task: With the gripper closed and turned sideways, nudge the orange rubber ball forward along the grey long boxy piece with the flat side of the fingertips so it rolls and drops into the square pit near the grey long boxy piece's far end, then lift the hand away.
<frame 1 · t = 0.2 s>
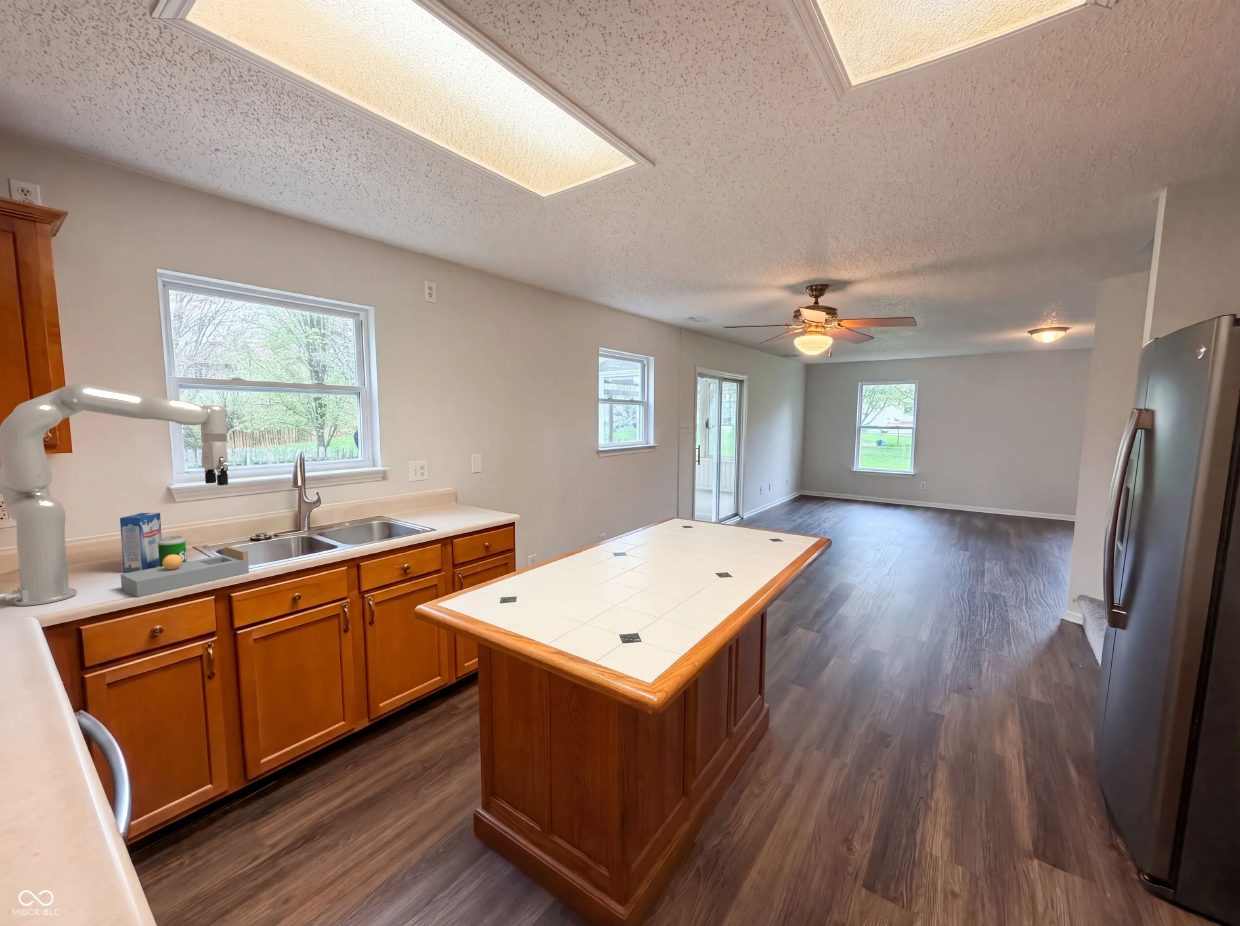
hand: (216, 484, 188), 31 cm above the worktop, fingers open, 9 cm apart
soda can: (173, 570, 182), on the worktop
milk carton: (144, 569, 183), on the worktop
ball: (172, 561, 167), point 7 cm above the worktop, touching grey long boxy piece
grey long boxy piece: (188, 580, 171), on the worktop
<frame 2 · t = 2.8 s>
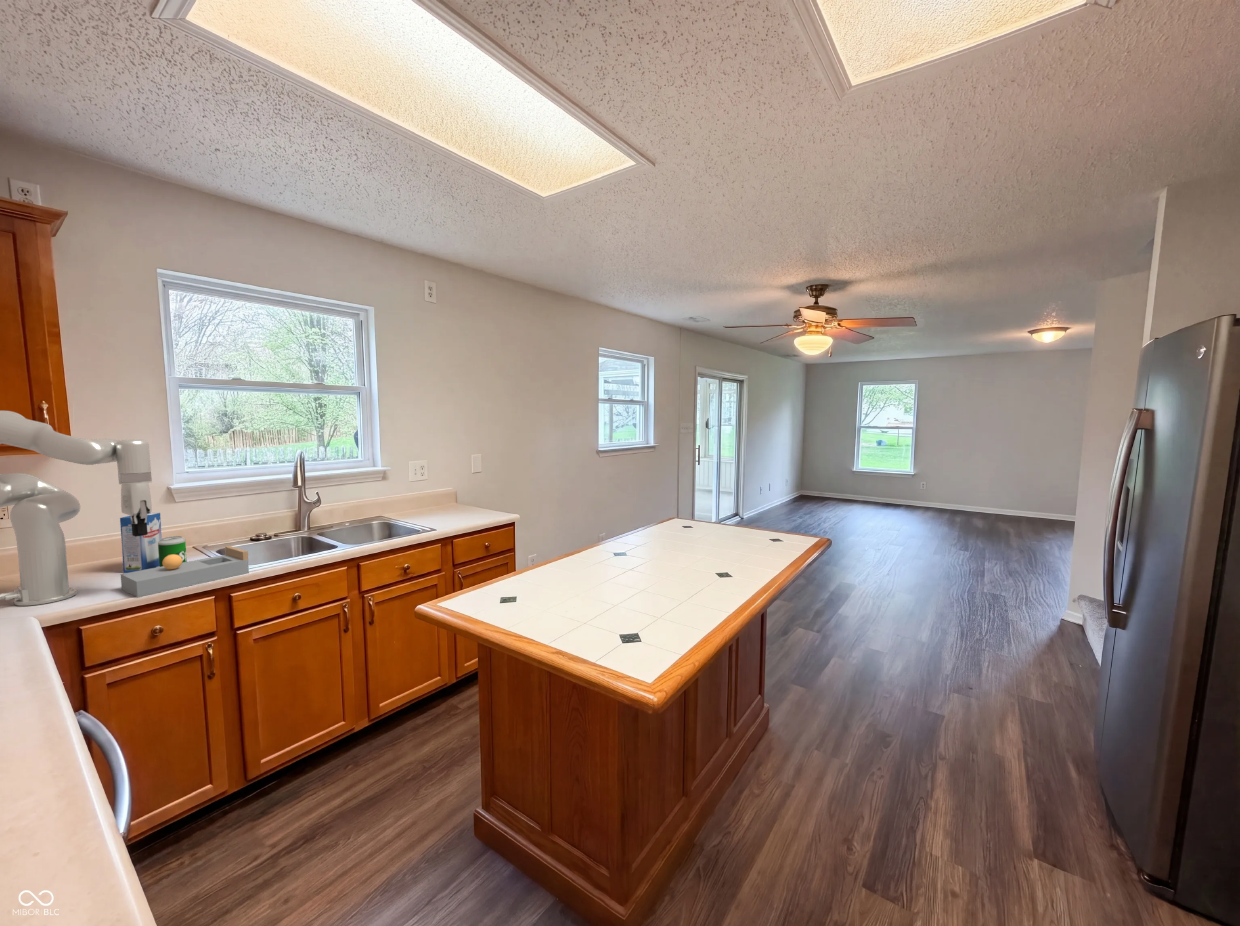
hand: (140, 535, 159), 18 cm above the worktop, fingers closed
nothing on the worktop moved.
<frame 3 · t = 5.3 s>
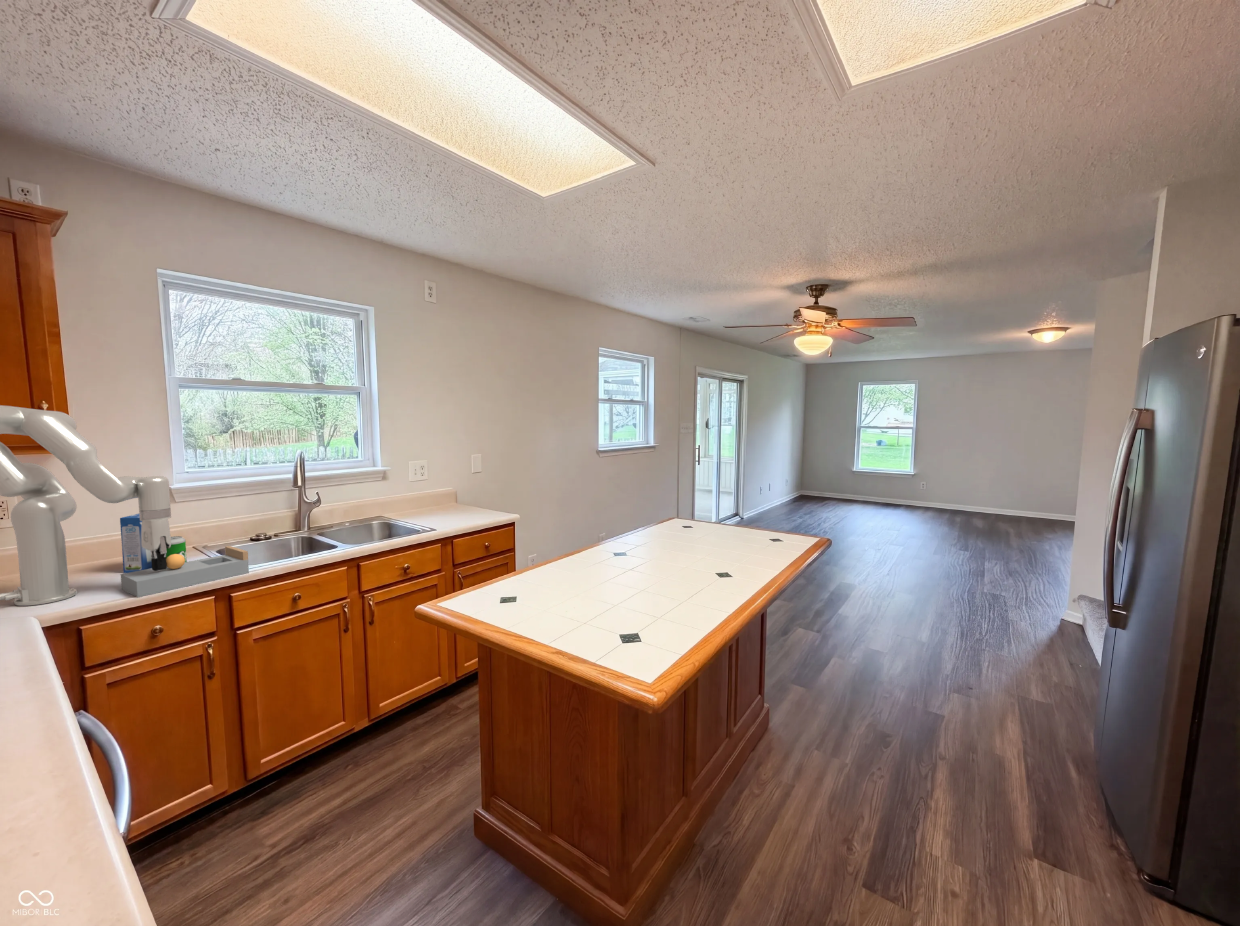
hand: (159, 569, 164), 6 cm above the worktop, fingers closed
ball: (175, 561, 167), point 7 cm above the worktop, tilted 13°, touching grey long boxy piece
everything else where it was.
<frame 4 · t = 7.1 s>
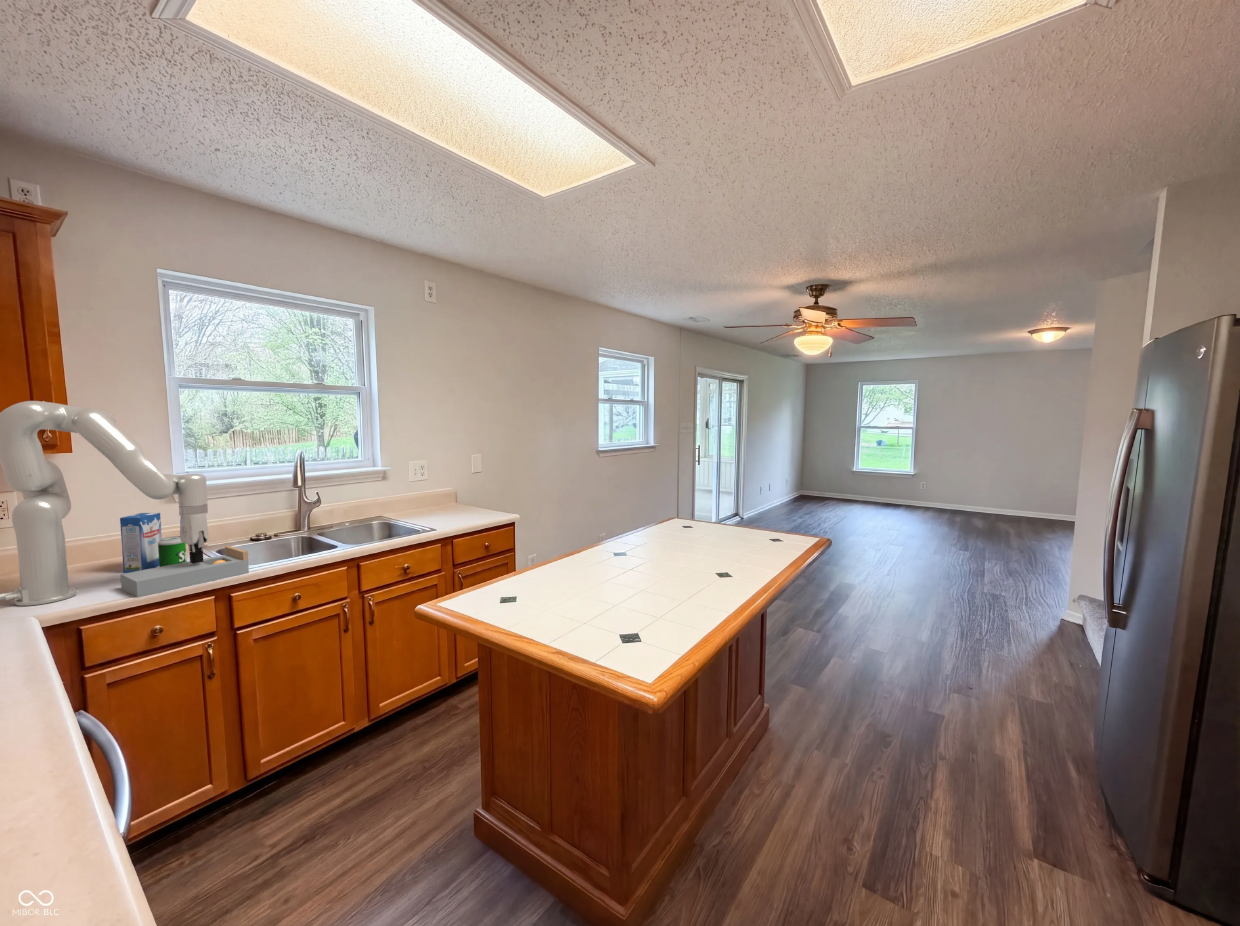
hand: (196, 562, 172), 6 cm above the worktop, fingers closed
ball: (219, 567, 178), point 2 cm above the worktop, tilted 17°
everything else where it was.
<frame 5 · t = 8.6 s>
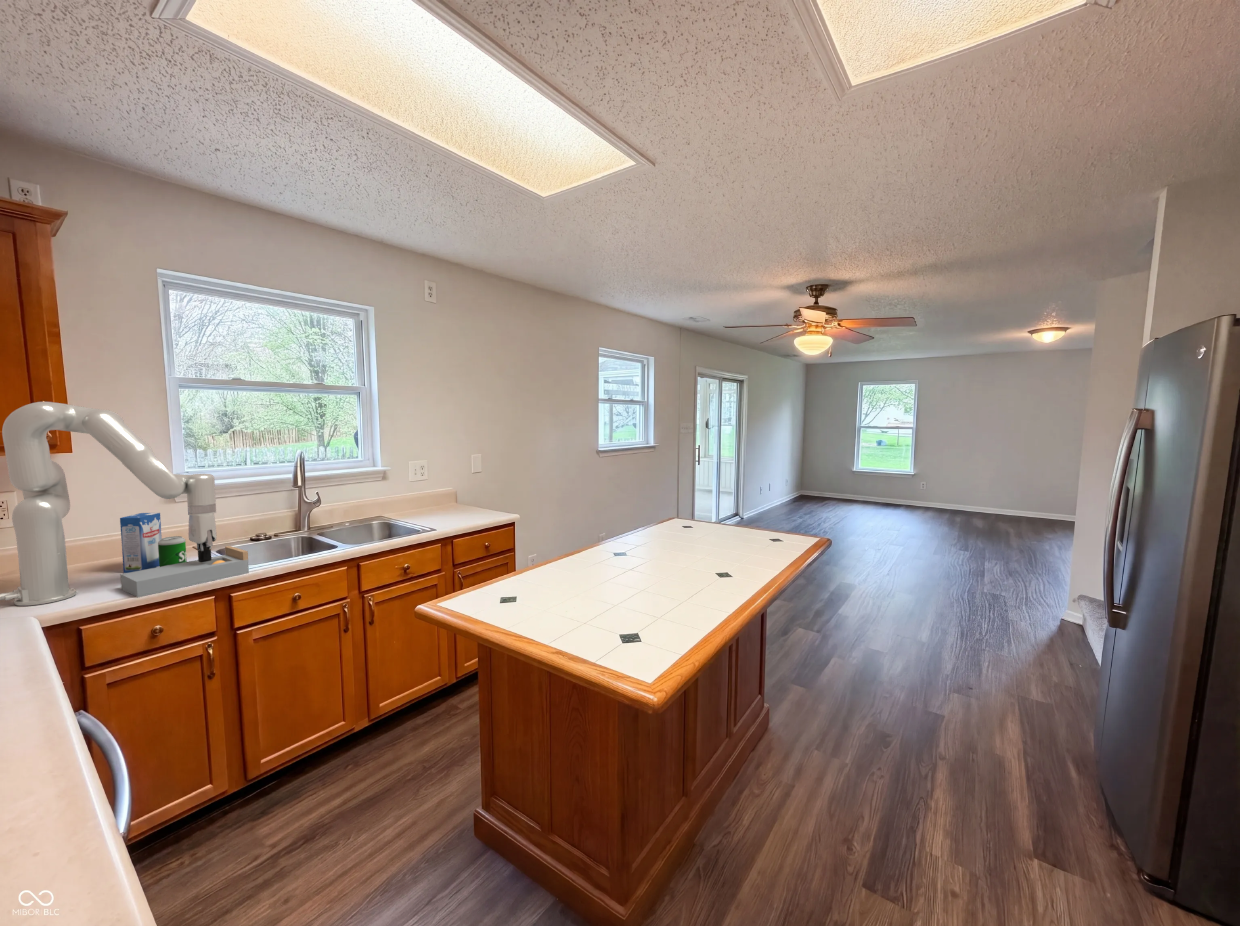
hand: (204, 561, 174), 6 cm above the worktop, fingers closed
nothing on the worktop moved.
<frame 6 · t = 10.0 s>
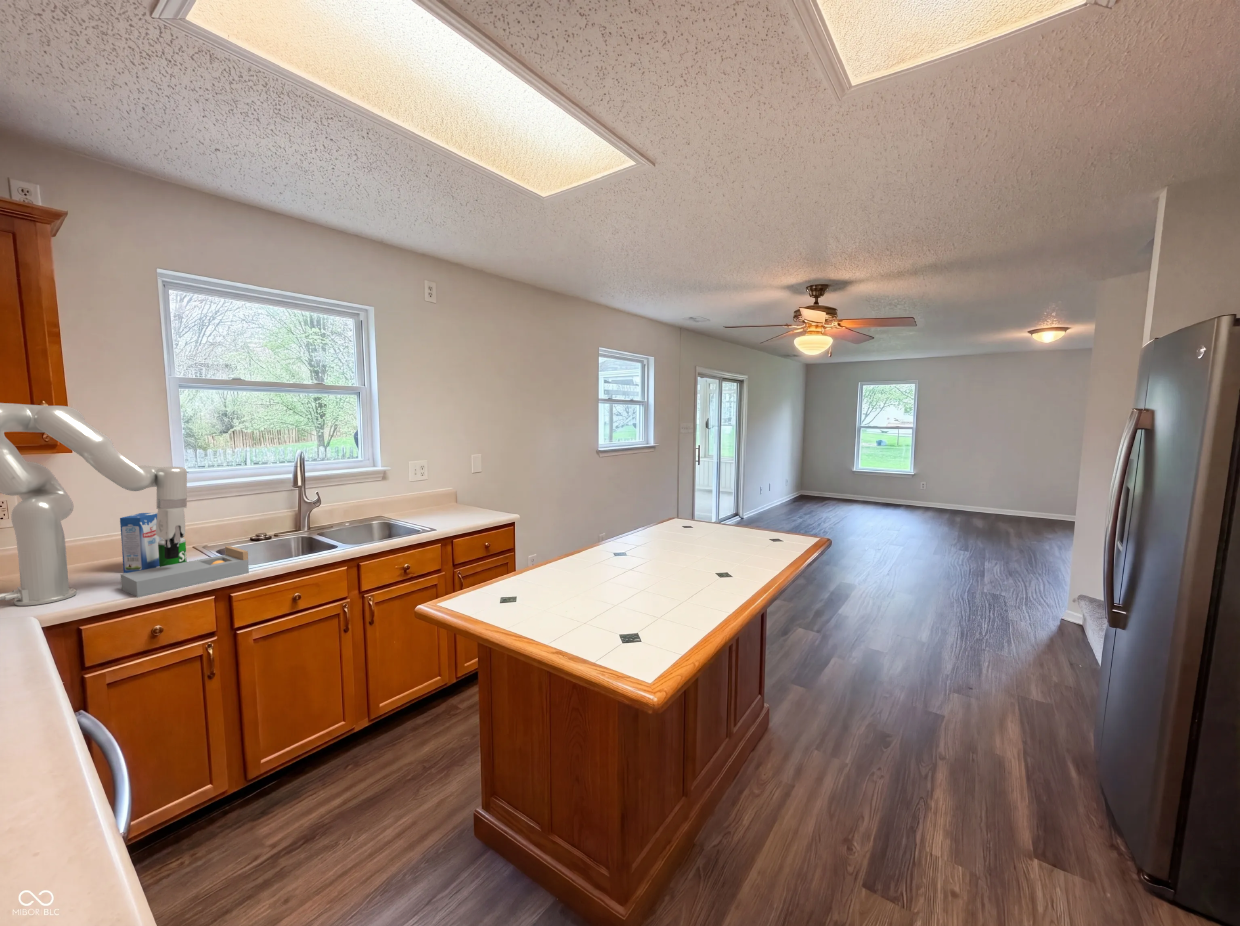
hand: (171, 558, 167), 9 cm above the worktop, fingers closed
nothing on the worktop moved.
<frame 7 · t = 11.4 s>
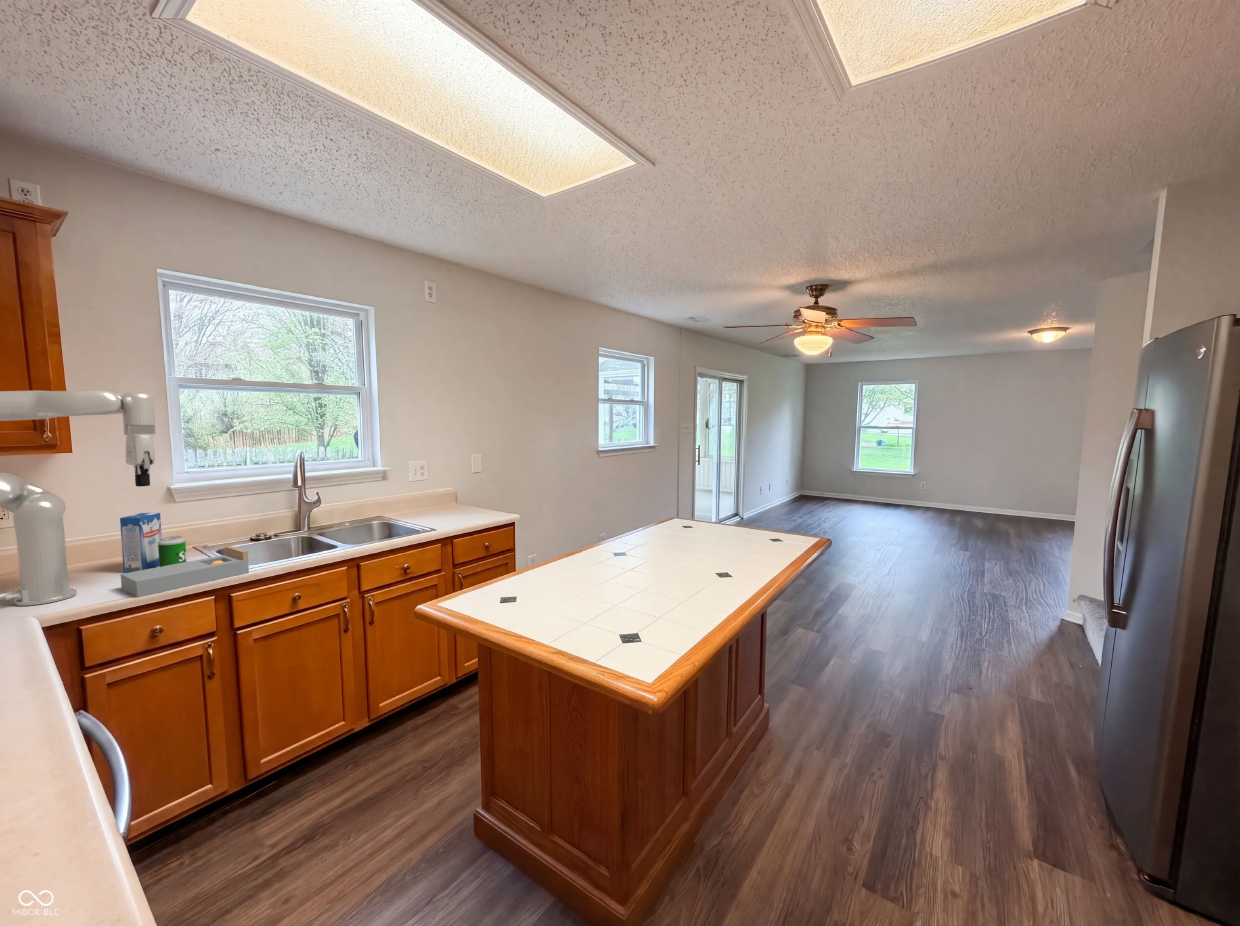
hand: (142, 485, 165), 33 cm above the worktop, fingers closed
nothing on the worktop moved.
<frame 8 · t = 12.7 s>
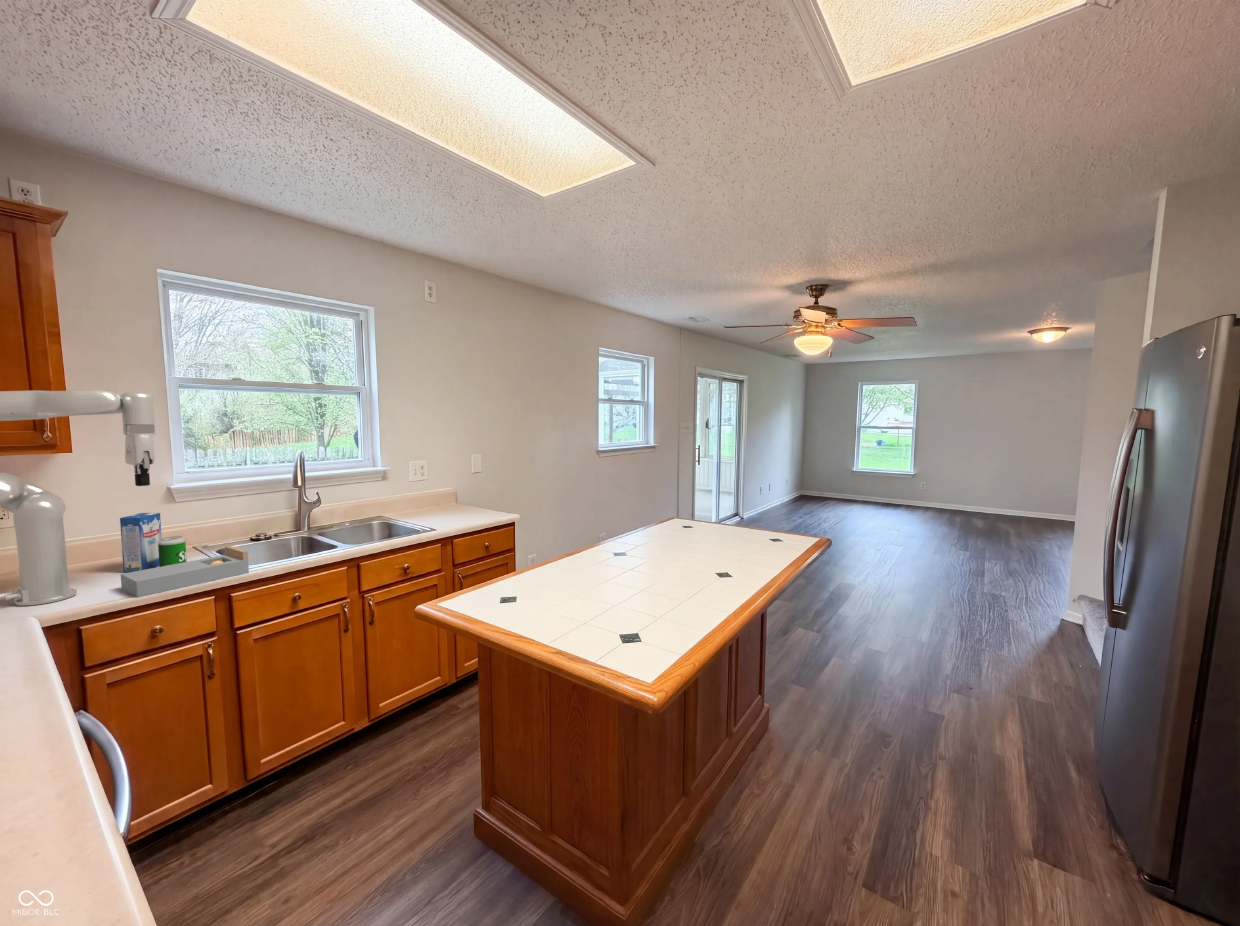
hand: (142, 485, 165), 33 cm above the worktop, fingers closed
nothing on the worktop moved.
at the end: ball 0.3 cm from the target spot on the grey long boxy piece, point 2.5 cm above the grey long boxy piece's base; the gripper is holding nothing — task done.
